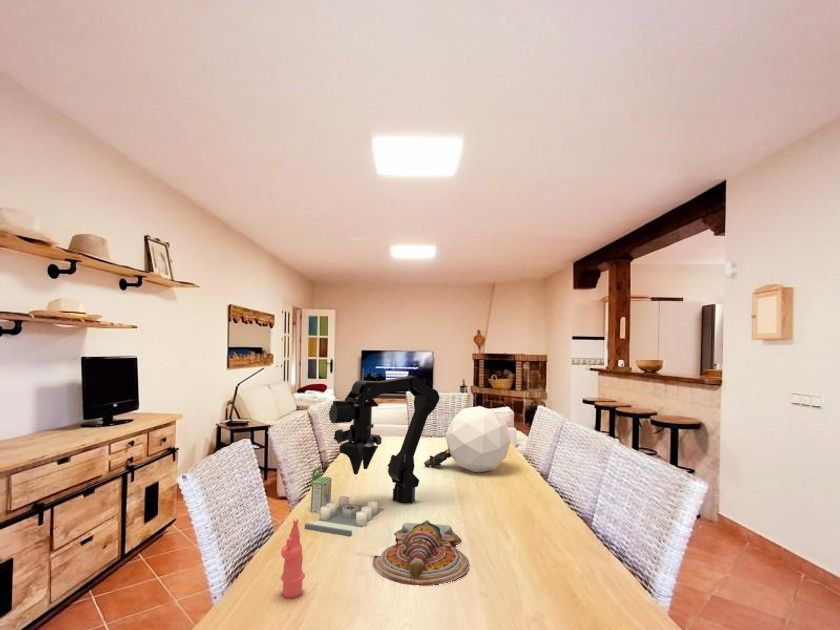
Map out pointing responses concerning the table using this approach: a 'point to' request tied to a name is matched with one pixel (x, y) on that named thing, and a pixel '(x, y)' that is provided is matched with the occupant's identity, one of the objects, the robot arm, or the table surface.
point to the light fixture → (475, 440)
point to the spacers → (331, 508)
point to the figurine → (292, 564)
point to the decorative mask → (423, 556)
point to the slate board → (339, 523)
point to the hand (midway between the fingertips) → (360, 471)
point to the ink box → (320, 491)
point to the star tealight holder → (349, 511)
